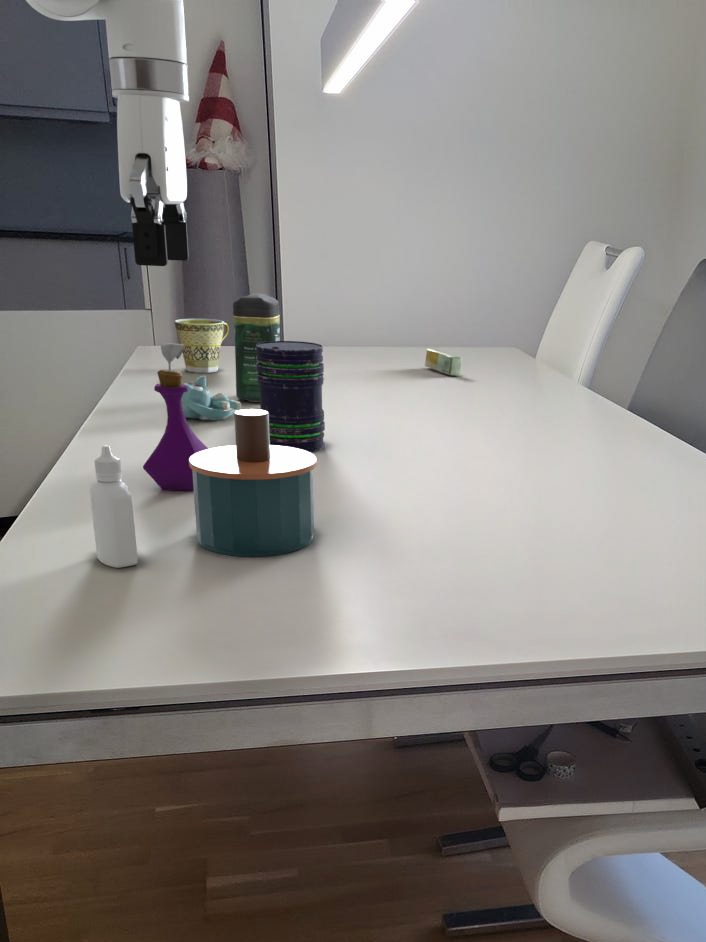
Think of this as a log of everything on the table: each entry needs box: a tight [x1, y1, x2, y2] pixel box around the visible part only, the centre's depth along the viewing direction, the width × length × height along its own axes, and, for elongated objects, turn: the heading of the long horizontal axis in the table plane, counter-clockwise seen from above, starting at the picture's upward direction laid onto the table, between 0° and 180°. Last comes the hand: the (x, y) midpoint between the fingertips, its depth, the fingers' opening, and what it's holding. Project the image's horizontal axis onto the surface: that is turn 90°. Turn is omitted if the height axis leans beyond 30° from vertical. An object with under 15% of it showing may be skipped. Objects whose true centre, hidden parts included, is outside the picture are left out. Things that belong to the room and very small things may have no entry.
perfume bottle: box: [142, 342, 209, 492], centre depth 131 cm, size 8×8×18 cm
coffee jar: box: [232, 293, 281, 403], centre depth 188 cm, size 10×8×19 cm
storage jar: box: [256, 340, 326, 453], centre depth 155 cm, size 10×10×15 cm
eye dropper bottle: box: [89, 444, 139, 569], centre depth 105 cm, size 4×6×12 cm
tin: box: [192, 469, 315, 558], centre depth 114 cm, size 13×13×8 cm
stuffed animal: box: [181, 375, 242, 422], centre depth 174 cm, size 11×7×12 cm
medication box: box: [424, 348, 463, 377], centre depth 229 cm, size 12×3×4 cm, turn 31°
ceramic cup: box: [174, 318, 230, 374], centre depth 218 cm, size 13×10×10 cm
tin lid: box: [189, 408, 318, 480], centre depth 111 cm, size 14×14×6 cm
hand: (163, 262), depth 111 cm, fingers open, 9 cm apart
